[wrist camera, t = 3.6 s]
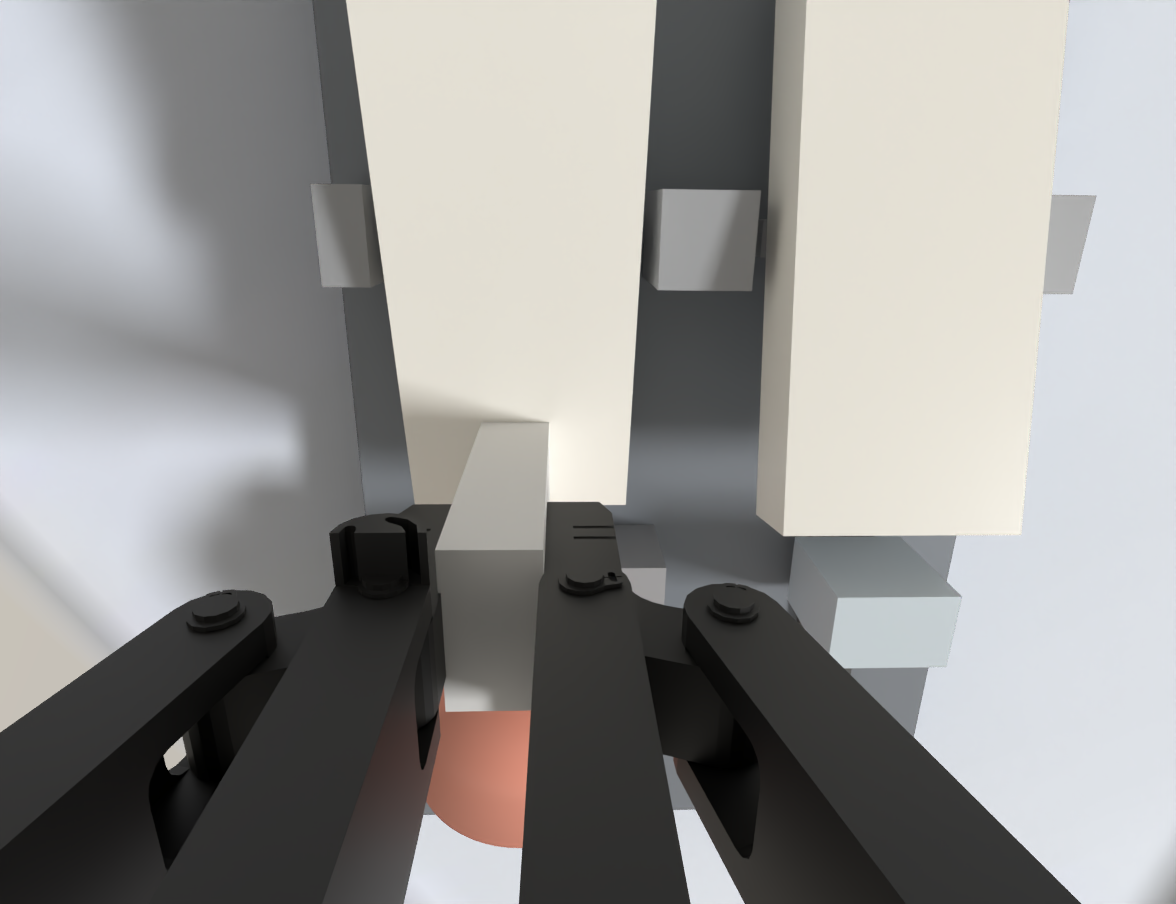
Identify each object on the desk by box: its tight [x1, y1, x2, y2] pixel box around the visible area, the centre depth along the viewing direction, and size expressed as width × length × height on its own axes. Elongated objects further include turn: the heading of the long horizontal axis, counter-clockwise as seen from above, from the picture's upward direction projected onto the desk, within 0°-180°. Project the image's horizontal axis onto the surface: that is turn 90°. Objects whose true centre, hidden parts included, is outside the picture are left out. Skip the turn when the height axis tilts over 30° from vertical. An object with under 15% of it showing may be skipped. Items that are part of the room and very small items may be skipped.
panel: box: [310, 0, 1096, 815], centre depth 19 cm, size 25×17×5 cm
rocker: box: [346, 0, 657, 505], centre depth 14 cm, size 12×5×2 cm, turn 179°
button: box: [426, 688, 531, 848], centre depth 17 cm, size 5×5×4 cm
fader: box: [787, 536, 962, 668], centre depth 18 cm, size 2×3×3 cm, turn 89°
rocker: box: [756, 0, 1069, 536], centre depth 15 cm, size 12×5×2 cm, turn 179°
